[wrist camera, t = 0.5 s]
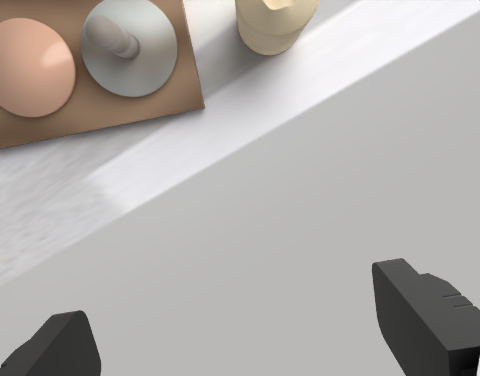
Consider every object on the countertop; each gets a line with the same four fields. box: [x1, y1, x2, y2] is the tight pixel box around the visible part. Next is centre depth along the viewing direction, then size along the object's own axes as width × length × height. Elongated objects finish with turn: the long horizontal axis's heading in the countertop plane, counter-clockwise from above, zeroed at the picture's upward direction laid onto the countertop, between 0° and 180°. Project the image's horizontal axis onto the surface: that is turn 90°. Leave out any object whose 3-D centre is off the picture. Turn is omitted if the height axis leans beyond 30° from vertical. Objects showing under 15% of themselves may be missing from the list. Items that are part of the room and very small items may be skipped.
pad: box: [0, 18, 77, 117], centre depth 31 cm, size 8×8×1 cm
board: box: [0, 0, 205, 149], centre depth 28 cm, size 12×20×8 cm, turn 101°
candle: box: [235, 0, 319, 55], centre depth 26 cm, size 6×6×10 cm
